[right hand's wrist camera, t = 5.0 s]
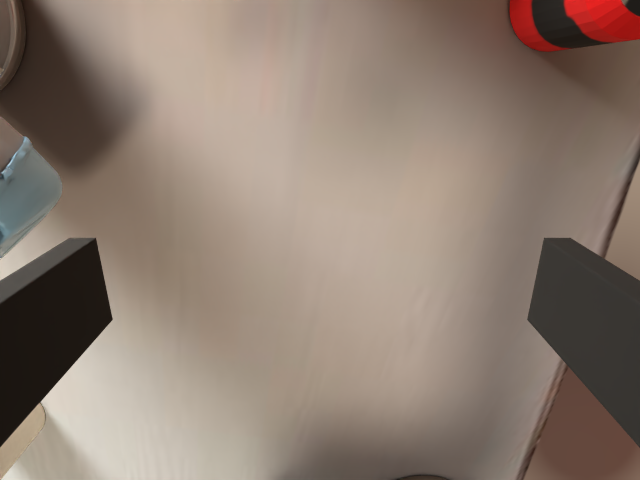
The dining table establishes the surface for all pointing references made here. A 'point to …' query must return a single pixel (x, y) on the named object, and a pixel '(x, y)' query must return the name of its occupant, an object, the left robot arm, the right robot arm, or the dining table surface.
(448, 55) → the dining table surface
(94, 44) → the dining table surface
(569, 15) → the soda can
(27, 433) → the jar
